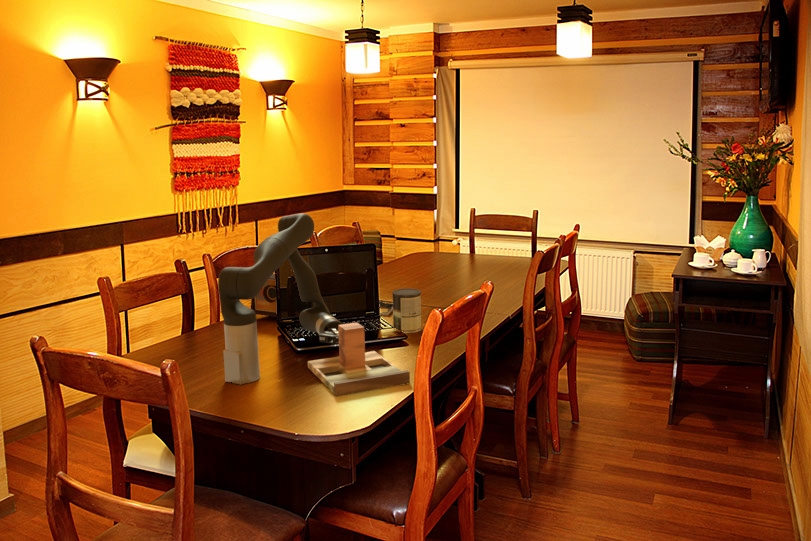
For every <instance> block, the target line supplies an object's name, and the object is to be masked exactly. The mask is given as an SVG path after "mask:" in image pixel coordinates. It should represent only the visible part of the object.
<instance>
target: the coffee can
mask: <svg viewBox="0 0 811 541" xmlns="http://www.w3.org/2000/svg"><path fill="white" fill-rule="evenodd" d="M421 295H422V290H420V289H416V288H399V289H395V290H393V291H392V304H393V310H392V316H393V317H392V320H393V321H392V322H393V323H392V325H393V327H394V328H396V329H398V330H400V331H403V332H405V333H404V334H414V333H418V332H420V331H422V306H421V305H422V304H421V303H422V302H421V300H422V299H421Z"/></svg>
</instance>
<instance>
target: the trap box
mask: <svg viewBox="0 0 811 541" xmlns="http://www.w3.org/2000/svg"><path fill="white" fill-rule="evenodd" d="M307 368H308V369H309V371H311V372H312V373H313V374H314V375H315V377H317V379H319V380H320V381H321V383H323V384H324V385H325V387H327V388H328V390H329V391H331V393H332V394H333V395H334V396H335V397H339V396H340V397H341V396H345V395H352V394H357V393H358V394H359V393H363V392H370V391H374V390H375V391H376V390H380V389H381V390H382V389H387V388H392V387H391V386H393V387H397V385H398V386H403V384H404V385H408V384H407V383H410V384H411V375H410V373H411V372H410V371H409V370H408V369H407V370H401V369H400V368H398V367H397V366H396V365H395V364H393V363H391V361H389V360H388V359H386V358H385V357H383V356H382V355H381V354H380V353H378V352H377V351H375V350H371V351H367V352H366V351H365V366H363V367H357V368H351V369H346V368H344V367H343V366H342V365H341V364H340V358H339V355H337V356H333V357H325V358H319V359H313V360H308V361H307Z"/></svg>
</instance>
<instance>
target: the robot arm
mask: <svg viewBox="0 0 811 541" xmlns="http://www.w3.org/2000/svg"><path fill="white" fill-rule="evenodd" d="M277 230H278V232H276V233H274V234H271V235H269V236H268V237H266V238H265V239H264V240H262V241H261V243H259V244H258V246H256V247H255V250H254V252H253V261H254V264H253V265H251V266H249V267H242V266H239V267H238V266H225V267H224V268H223V269H221V270H220V272H219V275H218V279H217V287H218V290H217V291H218V296H219V303H220V312H221V315H222V318H223V330H224V343H225V345H224V346H225V349H223V351H222V353H223V366H224V367H223V368H224V382H226V383H227V382H228V383H231V382H232V384H235V385H240V386H241V385H244V384H249V383H250V384H251V383H253V382H256V381H258V380H259V379H260V377H261V375H260V372H261V370H260V369H261V368H260V356H259V340H258V327H257V326H258V323H257V314H256V313H255V311H254V310H252V309H251V307H248V306H246V305H245V304H244V303H242V302H241V301H242V300H243V301H246V300H247V301H248V300H249V301H250V300H251V299H253V298H254V297H255V296H256V295H257V294H258V293H259V292H260V290H261V289H262V288H263V286H264V285H265V283H266V282H267V280H268V279H269V278H270V276H271V275H272V274H275V272H276V271H277V270H278V269H279V268H280V267H281V266H282V265H283V264H284V263H285V262H286V261H287V259H288V261H289V264H290V266H291V270H292V269H293V272H294V275H295V279H296V283H297V287H298V291H299V296H300V299H301V301H302V302H306V303H314V304H315V305H316V306H313V307H310V308H305V309H303V310H302V311H301V312H300V314H299V317H298V318H299V319H298V321H299V324H300V325H301V327H302V328H303V329H305V330H306V331H307V332H308V331H309V332H313V333H317V334H318V335H319V343H325V344H332V345H336V344H339V332H338V325H342V324H343V322H341V321H340V320H339V319H337V318H336V317H334V316H331V312H330V310H329V308H328V306H327V305H326V304H325V302H324V299H323V297H322V295H321V290H320V287H319V283H318V279H317V275H316V273H315V271H314V270H313V268H312V266H310V265H309V263H308V262H307V260H305V259H304V258H303V256H302V255H301V253H300V251H299V250H298V248H300V247H301V246H302V245H303V244H305V243H306V242H308V241H309V240H310V239H311V238H312V237H313V234H314V232H315V223H314V220H313V217H311V216H310V214H307V213H303V212H302V213H295V214H290V215H284V216H282V217H281V218H279V220H278V222H277Z"/></svg>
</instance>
